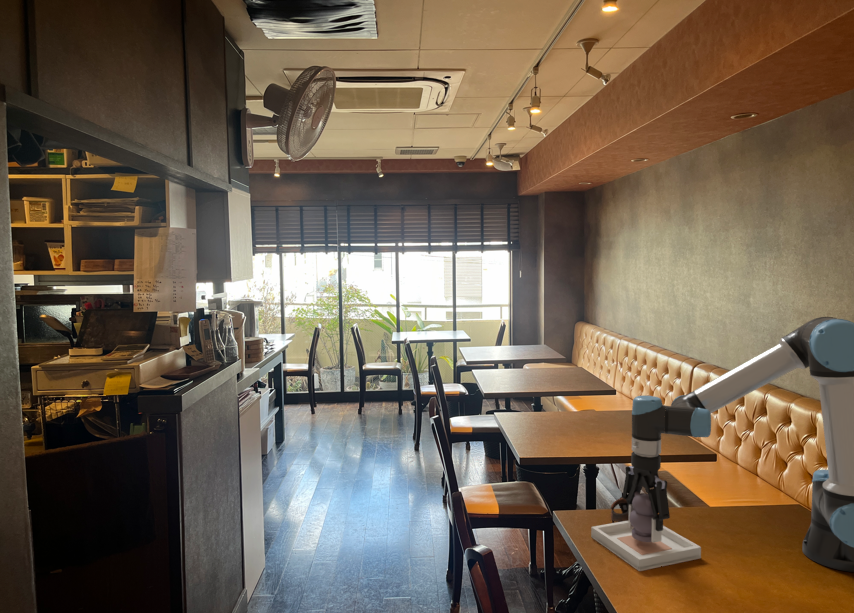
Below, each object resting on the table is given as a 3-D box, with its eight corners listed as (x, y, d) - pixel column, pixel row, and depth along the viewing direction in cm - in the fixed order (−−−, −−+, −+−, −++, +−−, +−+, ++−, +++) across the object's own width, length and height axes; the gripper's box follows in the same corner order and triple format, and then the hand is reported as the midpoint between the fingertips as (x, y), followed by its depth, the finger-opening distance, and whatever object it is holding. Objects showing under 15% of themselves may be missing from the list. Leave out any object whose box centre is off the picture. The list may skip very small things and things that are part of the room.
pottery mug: (651, 530, 168) (641, 509, 166) (621, 542, 169) (611, 521, 167) (638, 504, 179) (629, 484, 177) (610, 515, 181) (600, 496, 179)
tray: (700, 558, 150) (701, 547, 150) (639, 571, 144) (639, 559, 143) (647, 526, 169) (648, 517, 169) (591, 537, 162) (591, 526, 162)
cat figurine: (666, 542, 153) (667, 498, 152) (641, 545, 151) (641, 501, 150) (647, 528, 161) (648, 487, 161) (622, 531, 159) (623, 489, 159)
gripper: (609, 443, 164) (608, 520, 165) (663, 466, 144) (661, 553, 145) (631, 441, 166) (629, 516, 167) (686, 463, 146) (684, 549, 147)
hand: (644, 533), depth 156 cm, fingers closed on cat figurine, 8 cm apart
